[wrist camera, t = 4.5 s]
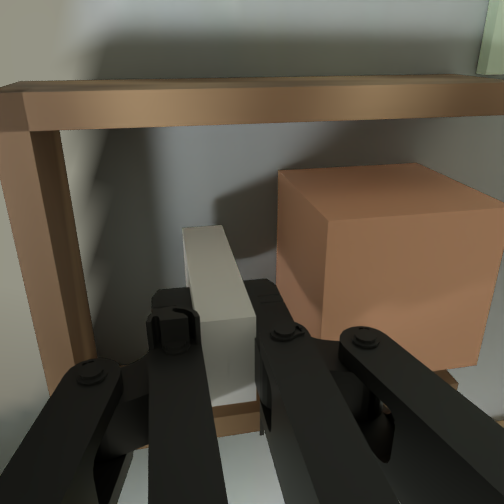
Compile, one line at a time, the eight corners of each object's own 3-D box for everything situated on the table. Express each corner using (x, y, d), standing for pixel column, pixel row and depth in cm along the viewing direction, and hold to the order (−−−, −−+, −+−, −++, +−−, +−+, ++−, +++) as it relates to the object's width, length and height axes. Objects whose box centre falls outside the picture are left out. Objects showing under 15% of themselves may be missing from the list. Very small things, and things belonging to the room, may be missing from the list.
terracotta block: (275, 300, 21) (317, 387, 16) (277, 169, 19) (328, 220, 13) (398, 287, 22) (476, 365, 17) (415, 162, 20) (513, 206, 14)
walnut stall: (79, 388, 21) (64, 460, 17) (19, 81, 16) (-20, 92, 12) (408, 347, 24) (454, 401, 20) (453, 74, 18) (525, 82, 15)
